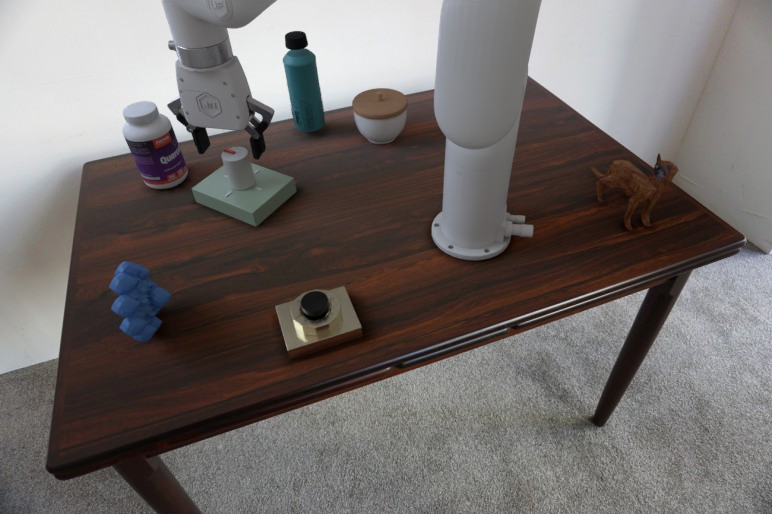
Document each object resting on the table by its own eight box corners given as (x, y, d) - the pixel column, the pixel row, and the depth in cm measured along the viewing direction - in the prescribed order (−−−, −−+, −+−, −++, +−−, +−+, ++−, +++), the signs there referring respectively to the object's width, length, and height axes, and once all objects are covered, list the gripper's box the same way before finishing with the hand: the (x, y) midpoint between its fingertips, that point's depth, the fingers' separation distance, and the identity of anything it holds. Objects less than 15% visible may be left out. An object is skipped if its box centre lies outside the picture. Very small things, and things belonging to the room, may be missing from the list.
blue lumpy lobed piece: (184, 356, 69) (152, 296, 60) (131, 368, 68) (91, 309, 59) (186, 292, 77) (158, 232, 69) (138, 302, 76) (104, 242, 68)
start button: (325, 296, 71) (323, 287, 70) (332, 315, 68) (331, 306, 67) (299, 303, 70) (297, 295, 69) (306, 323, 68) (304, 315, 66)
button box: (345, 295, 75) (343, 276, 73) (363, 337, 70) (360, 318, 67) (277, 315, 73) (272, 297, 70) (290, 360, 68) (284, 342, 65)
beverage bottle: (332, 127, 109) (321, 30, 95) (313, 142, 105) (297, 43, 91) (308, 119, 111) (293, 24, 97) (288, 134, 108) (269, 36, 94)
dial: (260, 179, 91) (253, 149, 87) (243, 193, 89) (234, 162, 84) (241, 172, 93) (233, 142, 89) (224, 186, 90) (215, 155, 86)
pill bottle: (176, 194, 94) (148, 123, 84) (137, 189, 96) (104, 119, 86) (197, 168, 100) (172, 98, 90) (159, 164, 101) (130, 95, 91)
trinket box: (408, 149, 102) (408, 106, 95) (353, 151, 102) (349, 107, 96) (407, 121, 109) (407, 79, 103) (356, 122, 110) (353, 80, 103)
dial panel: (296, 191, 94) (293, 177, 91) (256, 227, 87) (252, 212, 85) (238, 170, 99) (234, 156, 97) (196, 202, 92) (190, 187, 90)
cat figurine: (573, 176, 94) (591, 106, 84) (606, 170, 95) (628, 100, 85) (628, 241, 81) (657, 168, 72) (666, 234, 82) (700, 161, 73)
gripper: (136, 58, 73) (173, 160, 85) (252, 66, 71) (273, 170, 83) (162, 36, 78) (193, 136, 91) (271, 43, 76) (288, 144, 88)
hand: (232, 152), depth 87 cm, fingers open, 9 cm apart
